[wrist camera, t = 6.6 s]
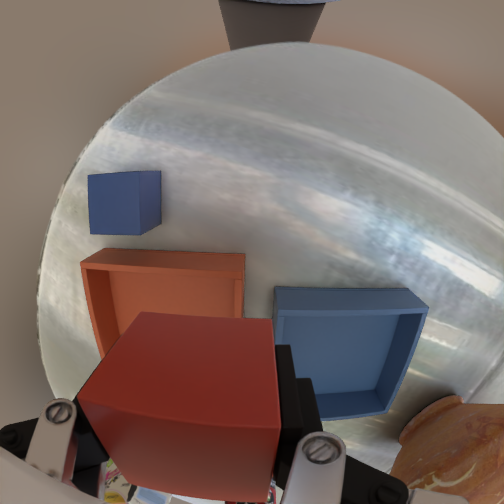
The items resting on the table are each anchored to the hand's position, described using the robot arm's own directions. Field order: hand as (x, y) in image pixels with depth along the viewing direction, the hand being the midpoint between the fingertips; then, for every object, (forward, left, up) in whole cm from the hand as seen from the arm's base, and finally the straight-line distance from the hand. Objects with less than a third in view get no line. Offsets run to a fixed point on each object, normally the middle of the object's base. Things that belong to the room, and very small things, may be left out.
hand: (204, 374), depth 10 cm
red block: (0, 0, 0) cm, 0 cm away
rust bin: (+7, -6, -16) cm, 18 cm away
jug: (+28, +33, -16) cm, 46 cm away
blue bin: (+10, +11, -16) cm, 22 cm away
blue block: (-5, -9, -16) cm, 19 cm away
